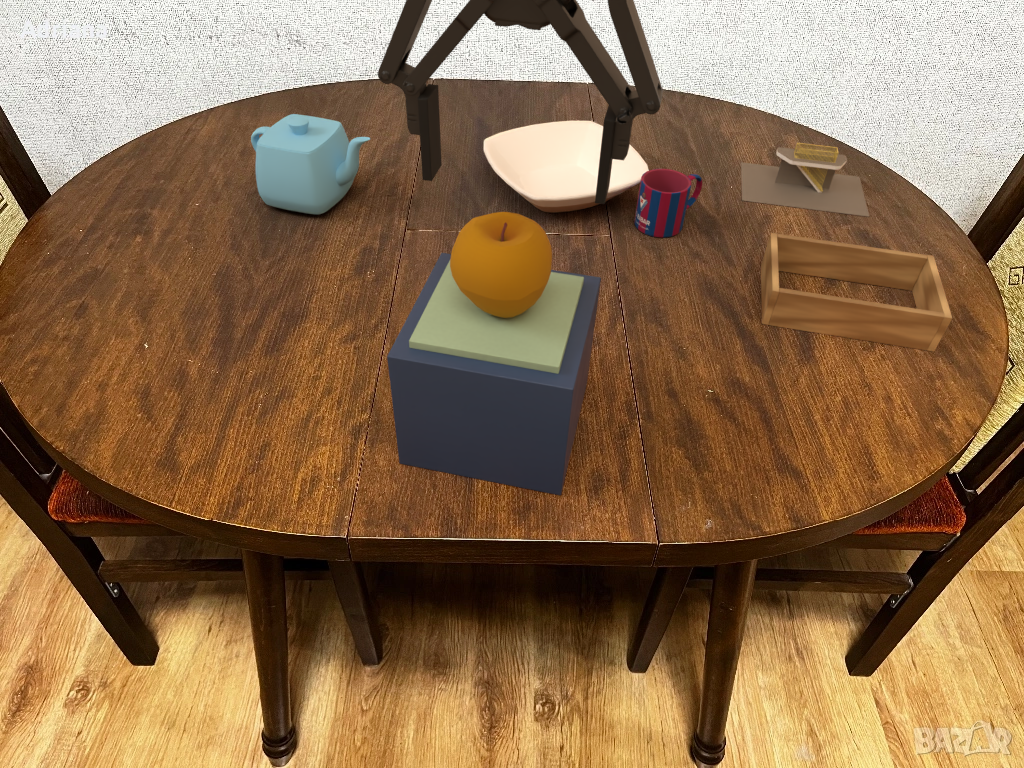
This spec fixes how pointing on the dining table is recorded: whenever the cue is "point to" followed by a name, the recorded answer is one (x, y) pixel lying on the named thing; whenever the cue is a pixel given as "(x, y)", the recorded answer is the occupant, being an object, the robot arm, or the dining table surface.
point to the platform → (805, 182)
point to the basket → (851, 314)
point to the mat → (500, 326)
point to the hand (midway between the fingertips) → (515, 184)
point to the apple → (502, 263)
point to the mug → (664, 201)
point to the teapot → (305, 163)
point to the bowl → (559, 164)
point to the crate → (490, 404)
